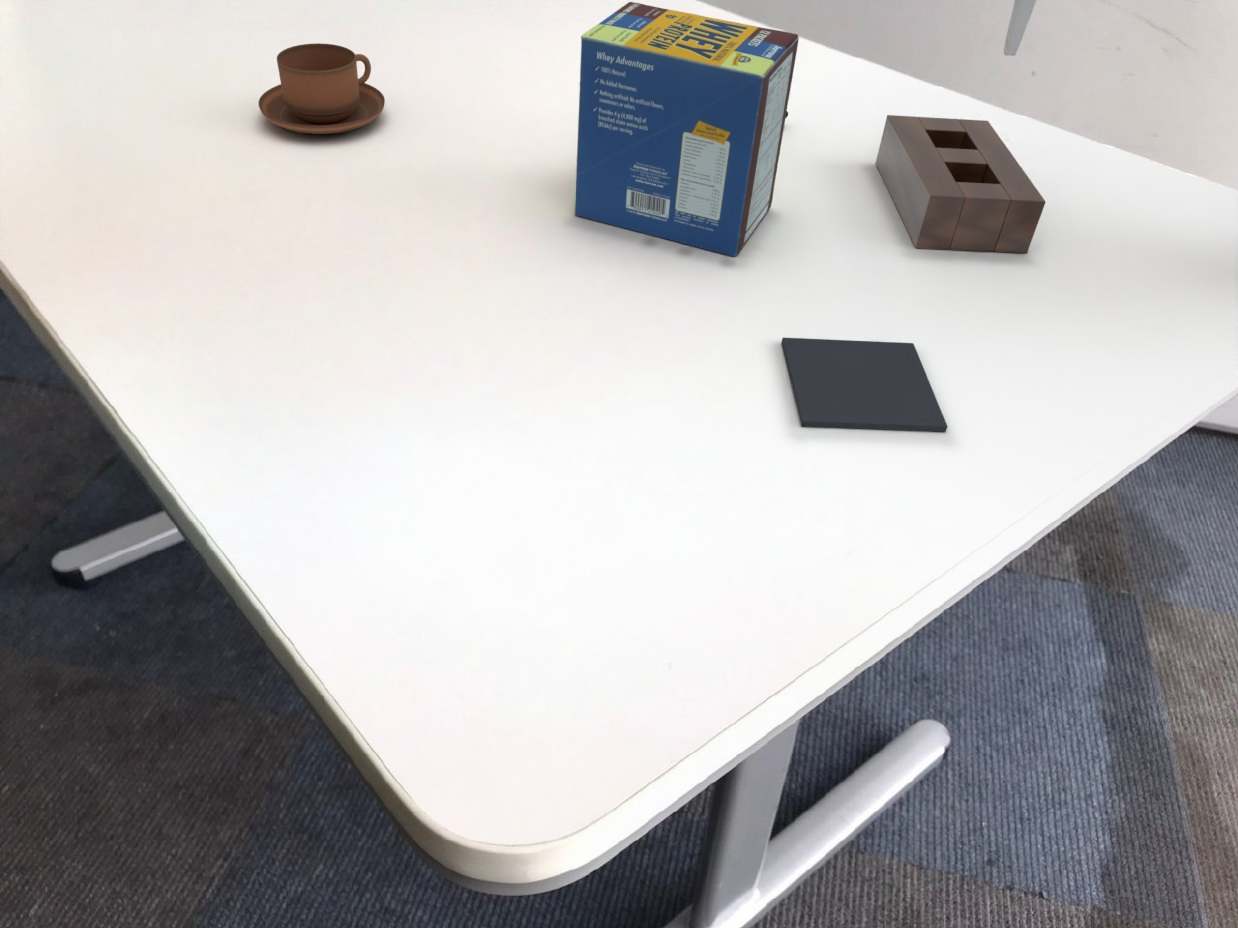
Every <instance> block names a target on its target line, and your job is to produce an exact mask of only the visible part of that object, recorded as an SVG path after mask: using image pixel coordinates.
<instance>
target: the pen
mask: <svg viewBox="0 0 1238 928" xmlns="http://www.w3.org/2000/svg"><path fill="white" fill-rule="evenodd" d="M1036 3H1037V0H1014V1H1013V6H1012V11H1011V15H1010V20H1009V24H1008V28H1007V32H1006V36H1005V41H1004V46H1003V54H1004V55H1005V56H1013V57H1014V56H1017V55H1016V54H1017V52H1018V51H1019V48H1020V46H1021V43H1022V40H1023V37H1024V35H1025V32H1026V29H1027V26H1028V24H1029V22H1030V18H1031V17H1032V13H1033V11H1034V9H1035V6H1036Z"/></svg>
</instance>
